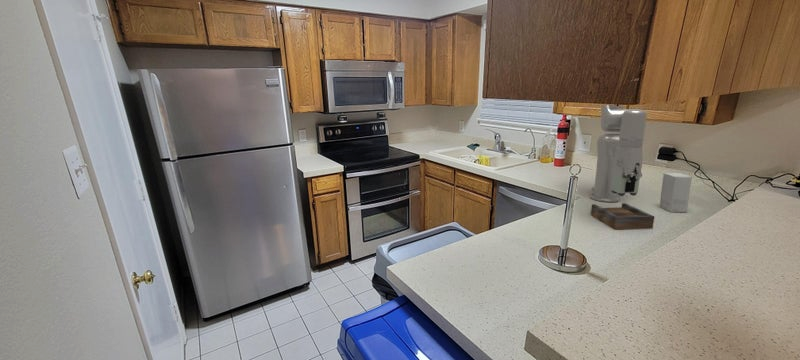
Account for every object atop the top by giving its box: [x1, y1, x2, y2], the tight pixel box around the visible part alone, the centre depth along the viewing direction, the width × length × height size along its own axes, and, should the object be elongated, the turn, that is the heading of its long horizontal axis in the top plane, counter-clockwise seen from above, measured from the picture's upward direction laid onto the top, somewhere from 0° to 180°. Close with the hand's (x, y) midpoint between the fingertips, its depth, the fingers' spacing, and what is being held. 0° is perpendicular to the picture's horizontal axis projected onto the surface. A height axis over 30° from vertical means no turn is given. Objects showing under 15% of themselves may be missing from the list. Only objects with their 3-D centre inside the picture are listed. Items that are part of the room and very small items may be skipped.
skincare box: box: [659, 172, 693, 213], centre depth 137 cm, size 8×7×16 cm
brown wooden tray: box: [590, 202, 655, 231], centre depth 128 cm, size 16×14×5 cm
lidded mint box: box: [611, 166, 641, 197], centre depth 124 cm, size 5×7×11 cm
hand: (624, 189), depth 125 cm, fingers closed on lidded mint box, 5 cm apart
